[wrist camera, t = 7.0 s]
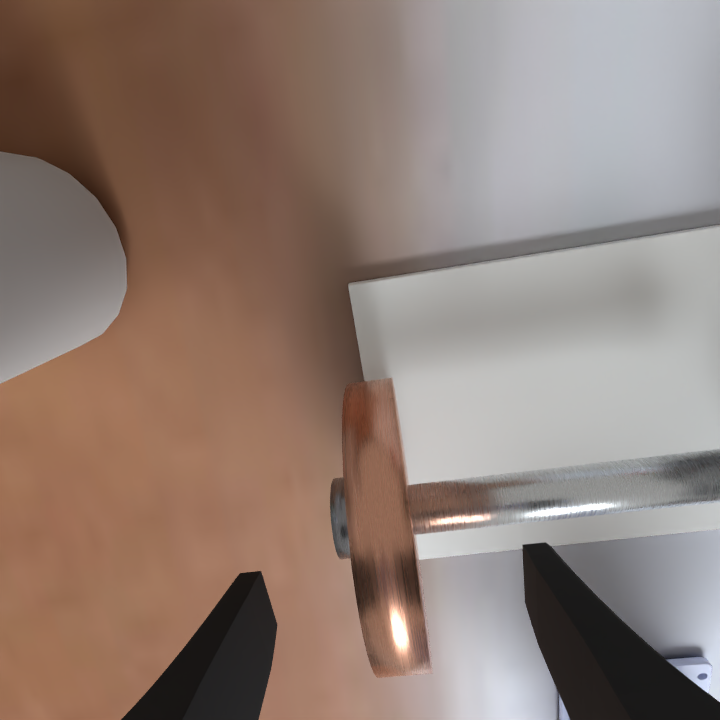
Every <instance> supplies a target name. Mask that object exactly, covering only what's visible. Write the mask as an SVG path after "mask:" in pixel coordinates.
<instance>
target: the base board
mask: <svg viewBox="0 0 720 720" xmlns="http://www.w3.org/2000/svg"><path fill="white" fill-rule="evenodd" d="M348 288H349V294H350V300H351V305H352V311H353V317H354V323H355V329H356V335H357V340H358V346H359V352H360V358H361V364H362V370H363V375H364V381H370V380H378V379H385V378H393V383H394V388H395V394H396V400H397V407H398V413H399V420H400V426H401V433H402V440H403V446H404V453H405V460H406V467H407V474H408V481H409V485H412V484H420V483H429V482H437V481H446V480H455V479H463V478H472V477H480V476H489V475H498V474H506V473H515V472H523V471H532V470H540V469H549V468H558V467H566V466H575V465H583V464H592V463H601V462H609V461H618V460H626V459H635V458H644V457H652V456H661V455H669V454H678V453H687V452H695V451H704V450H712V449H720V225H714V226H707V227H701V228H695V229H688V230H682V231H676V232H669V233H663V234H657V235H650V236H644V237H638V238H631V239H625V240H619V241H612V242H606V243H600V244H593V245H587V246H581V247H574V248H568V249H562V250H555V251H549V252H543V253H536V254H530V255H524V256H517V257H511V258H505V259H498V260H492V261H486V262H479V263H473V264H467V265H460V266H454V267H448V268H441V269H435V270H429V271H422V272H416V273H410V274H403V275H397V276H391V277H384V278H378V279H372V280H365V281H359V282H353V283H349V284H348ZM717 529H720V502H718V503H709V504H699V505H690V506H680V507H671V508H662V509H652V510H643V511H633V512H624V513H615V514H605V515H596V516H586V517H577V518H568V519H558V520H549V521H539V522H530V523H521V524H511V525H502V526H493V527H483V528H474V529H464V530H455V531H446V532H436V533H427V534H417V535H416V539H417V547H418V554H419V560H422V559H432V558H441V557H451V556H461V555H471V554H481V553H491V552H501V551H510V550H520V549H523V547H522V545H524V544H534V543H544V542H546V543H547V544H549V545H550V546H560V545H570V544H579V543H589V542H599V541H609V540H619V539H629V538H639V537H648V536H658V535H668V534H678V533H688V532H698V531H707V530H717Z"/></svg>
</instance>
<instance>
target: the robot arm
mask: <svg viewBox="0 0 720 720" xmlns="http://www.w3.org/2000/svg"><path fill="white" fill-rule="evenodd" d="M522 547H523V568H524V588H525V604H526V607H527V610H528V613H529V617H530V620H531V623H532V626H533V629H534V633H535V636H536V639H537V642H538V645H539V647H540V650H541V652H542V654H543V657H544V659H545V662H546V664H547V666H548V669H549V671H550V673H551V676H552V678H553V680H554V683H555V685H556V687H557V690H558V692H559V720H720V702H719V701H717V700H716V699H715V698H713V697H712V696H711V695H710V694H709V688H710V681H711V674H712V665H711V664H710V663H709V661H708V660H707V659H706V658H704V657H692V658H679V659H665V658H663V657H662V656H661V655H660V654H659V653H658V652H656V651H655V650H654V649H653V648H652V647H651V646H650V645H648V644H647V643H646V642H645V641H644V640H643V639H642V638H641V637H640V636H638V635H637V634H636V633H635V632H634V631H633V630H632V629H631V628H630V627H628V626H627V625H626V624H625V623H624V622H623V621H622V620H621V619H620V618H619V617H618V616H617V615H616V614H615V613H614V612H613V611H612V610H611V609H610V608H609V607H608V606H607V605H606V604H605V603H604V602H602V601H601V600H600V599H599V598H598V597H597V596H596V595H595V594H594V593H593V592H592V591H591V590H590V589H589V587H588V586H587V585H586V584H585V583H584V582H583V581H582V580H581V579H580V578H579V577H578V576H577V575H576V574H575V573H574V572H573V571H572V570H571V568H570V567H569V566H568V565H567V564H566V563H565V562H564V561H563V560H562V559H561V557H560V556H559V555H558V554H557V553H556V552H555V551H554V549H553V548H552V547H551V546H550V545H549V544H547V543H546V542H544V543H534V544H524V545H522ZM276 631H277V622H276V619H275V616H274V612H273V609H272V606H271V602H270V599H269V596H268V593H267V589H266V586H265V583H264V579H263V576H262V573H261V571H257V572H247V573H240V574H239V575H238V577H237V578H236V579H235V581H234V582H233V583H232V585H231V586H230V587H229V589H228V590H227V591H226V593H225V594H224V595H223V597H222V598H221V600H220V601H219V602H218V604H217V605H216V606H215V608H214V609H213V610H212V612H211V613H210V614H209V616H208V617H207V618H206V620H205V621H204V622H203V624H202V625H201V626H200V628H199V629H198V630H197V632H196V633H195V634H194V635H193V637H192V638H191V639H190V641H189V642H188V643H187V645H186V646H185V647H184V648H183V650H182V651H181V652H180V653H179V654H178V656H177V657H176V658H175V659H174V661H173V662H172V663H171V664H170V665H169V667H168V668H167V669H166V670H165V671H164V673H163V674H162V675H161V676H160V677H159V679H158V680H157V681H156V682H155V683H154V684H153V686H152V687H151V688H150V689H149V690H148V691H147V692H146V694H145V695H144V696H143V697H142V698H141V699H140V700H139V701H138V702H137V703H136V705H135V706H134V707H133V708H132V709H131V710H130V711H129V712H128V713H127V714H126V715H125V716H124V717H123V718H122V719H121V720H258V719H259V715H260V711H261V707H262V703H263V699H264V695H265V691H266V687H267V683H268V679H269V675H270V671H271V666H272V660H273V653H274V647H275V639H276Z"/></svg>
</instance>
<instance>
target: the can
mask: <svg viewBox="0 0 720 720" xmlns="http://www.w3.org/2000/svg"><path fill="white" fill-rule="evenodd" d="M126 290H127V272H126V257H125V254H124V251H123V248H122V245H121V241H120V238H119V235H118V232H117V229H116V227H115V225H114V224H113V222H112V221H111V219H110V218H109V216H108V215H107V213H106V212H105V210H104V209H103V207H102V206H101V204H100V203H99V201H98V200H97V198H96V197H95V196H94V195H93V194H91V193H90V192H89V191H88V190H87V189H86V188H85V187H84V186H83V185H81V184H80V183H79V182H78V181H77V180H76V179H75V178H74V177H73V176H72V175H70V174H69V173H67V172H65V171H63V170H61V169H59V168H57V167H55V166H53V165H51V164H49V163H47V162H45V161H43V160H41V159H39V158H36V157H30V156H24V155H18V154H12V153H6V152H0V384H1V383H3V382H5V381H7V380H9V379H11V378H13V377H15V376H18V375H20V374H22V373H24V372H26V371H28V370H30V369H32V368H35V367H37V366H39V365H41V364H43V363H45V362H47V361H49V360H52V359H54V358H56V357H58V356H60V355H62V354H64V353H66V352H69V351H71V350H73V349H75V348H77V347H79V346H81V345H83V344H85V343H87V342H89V341H90V340H92V339H94V338H96V337H98V336H100V335H101V334H103V333H104V332H105V330H106V329H107V328H108V327H109V325H110V324H111V323H112V322H113V321H114V319H115V318H116V317H117V316H118V314H119V312H120V308H121V305H122V302H123V299H124V296H125V293H126Z"/></svg>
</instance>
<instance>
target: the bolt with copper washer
mask: <svg viewBox="0 0 720 720" xmlns="http://www.w3.org/2000/svg"><path fill="white" fill-rule="evenodd" d="M342 453H343V476H344V477H343V478H335V479H333V481H332V485H331V493H330V510H331V524H332V532H333V539H334V544H335V548H336V552H337V555H338V557H339V558H340V559H347V558H351V564H352V572H353V579H354V586H355V593H356V600H357V606H358V612H359V618H360V623H361V628H362V633H363V638H364V642H365V646H366V651H367V655H368V658H369V661H370V664H371V667H372V670H373V672H374V674H375V675H376V677H377V678H381V677H394V676H406V675H419V674H432V673H433V670H432V659H431V650H430V641H429V632H428V624H427V616H426V608H425V600H424V592H423V585H422V577H421V569H420V562H419V554H418V547H417V539H416V535H417V534H427V533H436V532H446V531H455V530H464V529H474V528H483V527H493V526H502V525H511V524H521V523H530V522H539V521H549V520H558V519H568V518H577V517H586V516H596V515H605V514H615V513H624V512H633V511H643V510H652V509H662V508H671V507H680V506H690V505H699V504H709V503H718V502H720V449H712V450H704V451H695V452H687V453H678V454H669V455H661V456H652V457H644V458H635V459H626V460H618V461H609V462H601V463H592V464H583V465H575V466H566V467H558V468H549V469H540V470H532V471H523V472H515V473H506V474H498V475H489V476H480V477H472V478H463V479H455V480H446V481H437V482H429V483H420V484H412V485H409V481H408V474H407V467H406V460H405V453H404V446H403V440H402V433H401V426H400V420H399V413H398V407H397V400H396V394H395V388H394V383H393V378H385V379H378V380H370V381H363V382H356V383H349V384H348V385H347V387H346V389H345V394H344V401H343V414H342Z"/></svg>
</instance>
